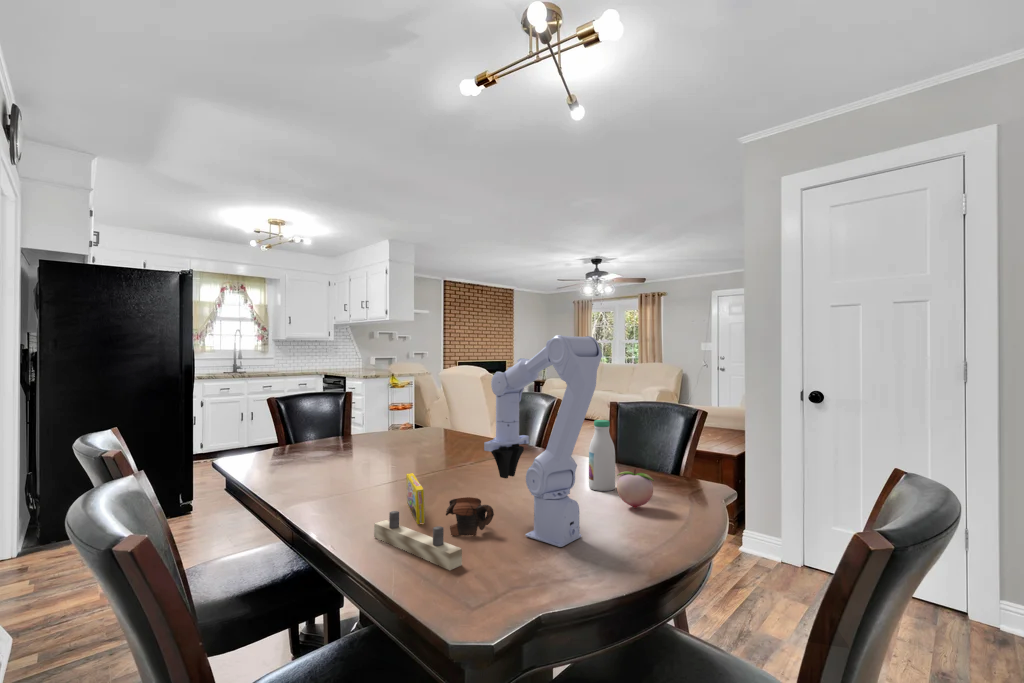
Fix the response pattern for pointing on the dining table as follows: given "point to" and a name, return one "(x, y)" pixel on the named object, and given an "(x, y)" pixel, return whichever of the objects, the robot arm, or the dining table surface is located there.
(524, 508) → the dining table surface
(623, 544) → the dining table surface
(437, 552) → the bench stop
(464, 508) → the pottery mug
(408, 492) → the candy box
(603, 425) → the milk bottle
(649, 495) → the decorative fruit
